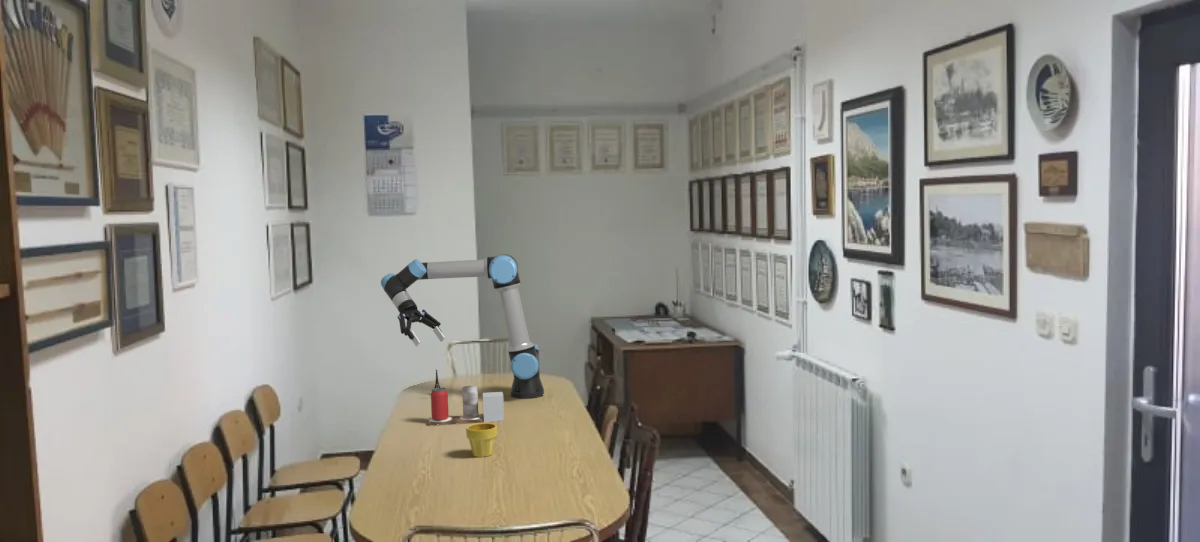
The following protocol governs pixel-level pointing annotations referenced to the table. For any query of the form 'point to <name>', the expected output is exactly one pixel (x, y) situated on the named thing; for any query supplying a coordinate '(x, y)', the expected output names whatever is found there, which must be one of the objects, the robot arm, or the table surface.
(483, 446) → the plant pot
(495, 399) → the white upright block
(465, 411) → the board
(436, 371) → the eiffel tower figurine
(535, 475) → the table surface
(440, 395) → the beer can
